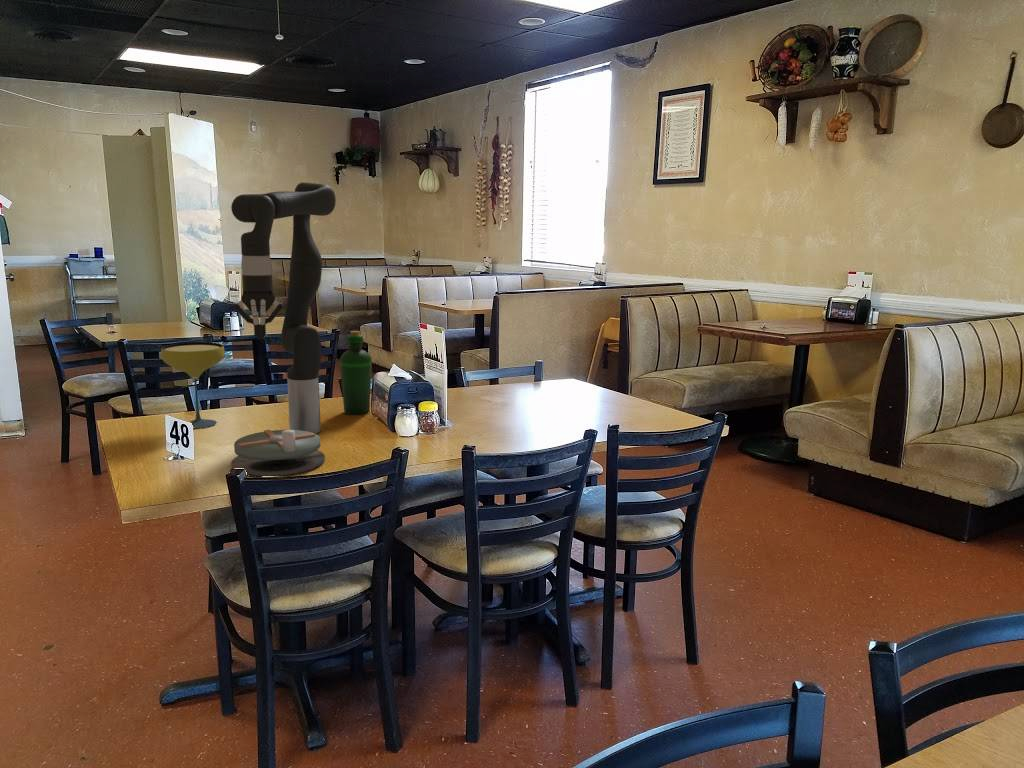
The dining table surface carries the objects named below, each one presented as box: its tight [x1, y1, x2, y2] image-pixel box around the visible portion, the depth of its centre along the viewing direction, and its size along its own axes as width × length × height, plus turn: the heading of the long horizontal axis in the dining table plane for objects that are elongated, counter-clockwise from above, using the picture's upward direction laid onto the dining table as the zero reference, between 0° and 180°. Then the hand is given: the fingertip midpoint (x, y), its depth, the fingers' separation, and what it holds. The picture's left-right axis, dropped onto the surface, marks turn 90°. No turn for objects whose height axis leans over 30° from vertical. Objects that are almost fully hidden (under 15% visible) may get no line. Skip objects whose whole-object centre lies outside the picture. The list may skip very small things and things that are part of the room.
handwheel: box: [233, 429, 321, 460], centre depth 196 cm, size 22×22×7 cm
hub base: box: [230, 449, 326, 478], centre depth 197 cm, size 24×24×4 cm
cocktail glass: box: [160, 341, 225, 430], centre depth 230 cm, size 18×18×25 cm
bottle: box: [339, 330, 373, 416], centre depth 249 cm, size 11×11×28 cm
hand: (260, 338), depth 196 cm, fingers closed
